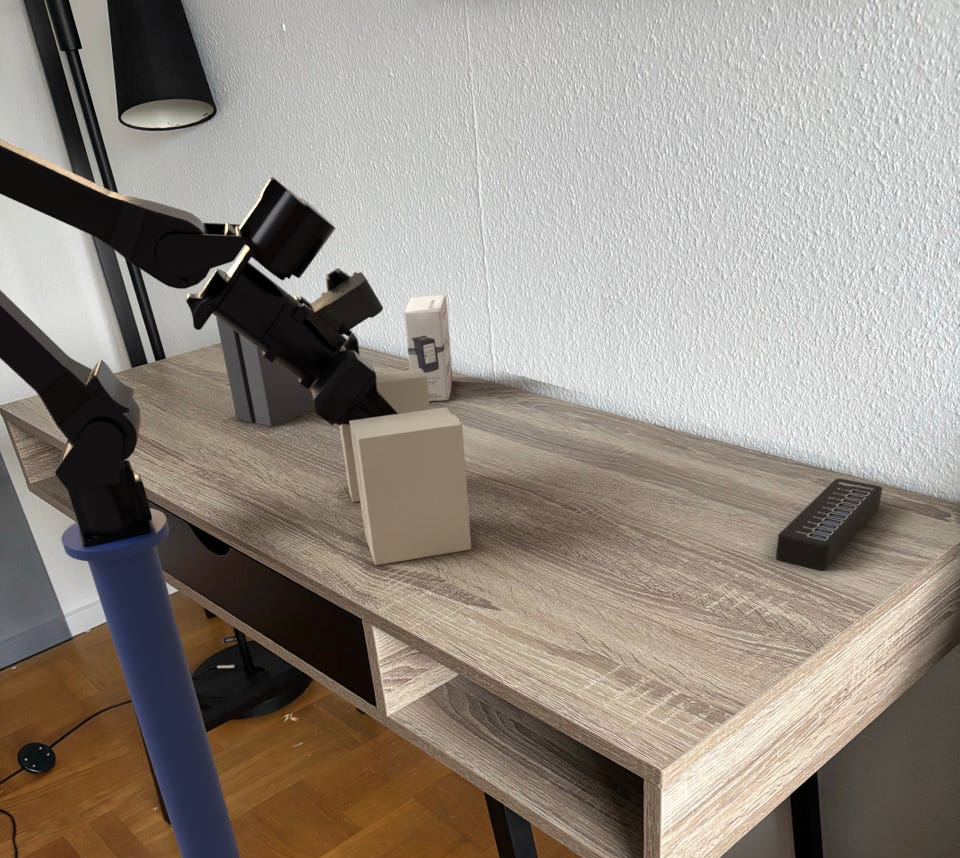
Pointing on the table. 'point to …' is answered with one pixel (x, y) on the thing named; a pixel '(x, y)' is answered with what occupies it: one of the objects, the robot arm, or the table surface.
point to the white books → (412, 484)
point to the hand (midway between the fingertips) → (399, 416)
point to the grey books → (261, 382)
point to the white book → (404, 396)
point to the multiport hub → (828, 524)
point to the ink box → (430, 343)
